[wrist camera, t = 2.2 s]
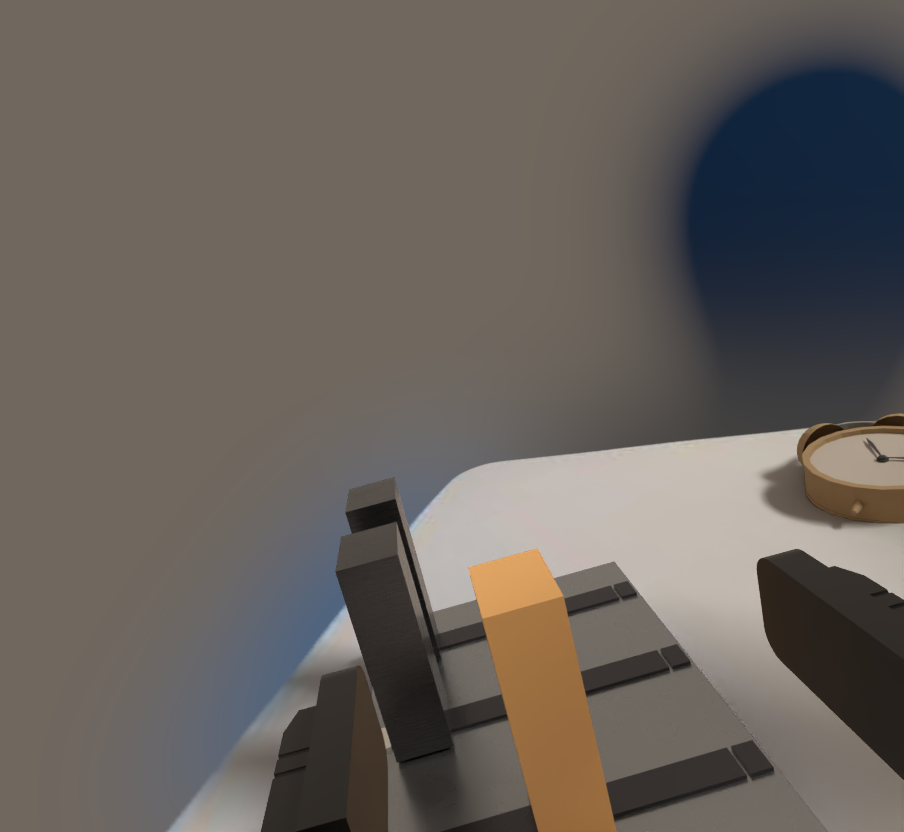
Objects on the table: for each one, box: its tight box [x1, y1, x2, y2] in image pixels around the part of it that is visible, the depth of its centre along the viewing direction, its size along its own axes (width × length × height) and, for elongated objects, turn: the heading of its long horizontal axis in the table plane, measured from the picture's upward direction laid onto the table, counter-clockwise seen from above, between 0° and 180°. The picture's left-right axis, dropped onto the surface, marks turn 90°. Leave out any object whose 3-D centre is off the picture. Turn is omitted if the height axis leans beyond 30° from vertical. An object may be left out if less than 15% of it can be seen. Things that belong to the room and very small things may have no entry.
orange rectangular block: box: [468, 549, 617, 832], centre depth 26 cm, size 3×4×11 cm
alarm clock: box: [797, 414, 904, 523], centre depth 52 cm, size 11×5×15 cm
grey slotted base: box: [335, 478, 828, 832], centre depth 33 cm, size 18×23×14 cm
